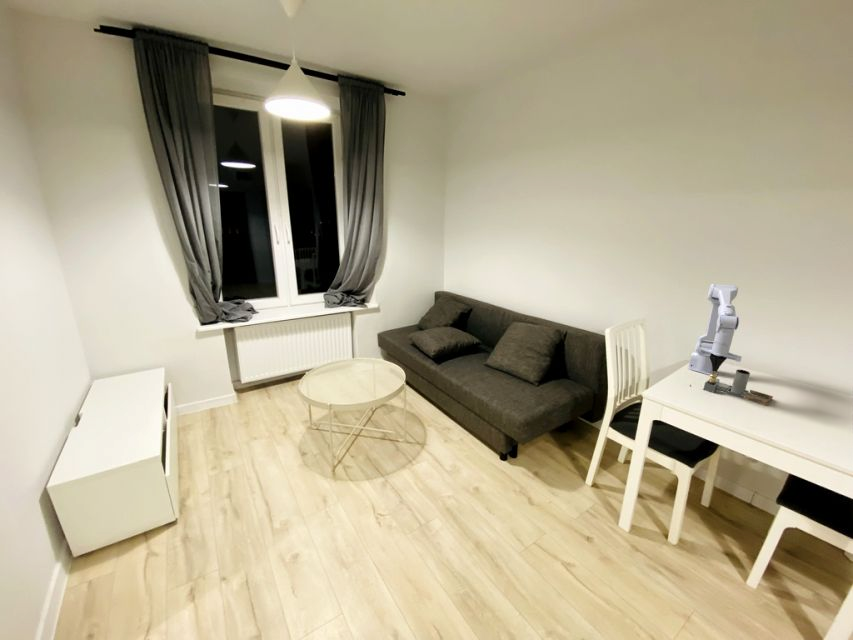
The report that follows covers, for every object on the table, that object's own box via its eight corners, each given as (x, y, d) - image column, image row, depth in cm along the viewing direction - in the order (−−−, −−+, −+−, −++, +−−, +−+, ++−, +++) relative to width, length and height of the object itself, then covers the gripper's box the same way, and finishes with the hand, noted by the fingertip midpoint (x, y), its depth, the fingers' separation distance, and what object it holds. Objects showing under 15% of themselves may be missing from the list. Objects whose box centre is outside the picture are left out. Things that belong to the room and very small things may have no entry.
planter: (744, 392, 156) (750, 371, 153) (743, 396, 153) (749, 374, 150) (730, 389, 159) (736, 368, 156) (730, 392, 156) (736, 371, 153)
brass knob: (706, 383, 158) (708, 374, 157) (708, 382, 160) (711, 372, 158) (714, 386, 156) (716, 376, 155) (716, 384, 158) (718, 375, 156)
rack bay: (744, 398, 151) (745, 395, 151) (749, 392, 156) (750, 389, 156) (767, 405, 146) (768, 402, 145) (771, 399, 151) (773, 396, 150)
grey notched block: (707, 385, 163) (709, 379, 162) (710, 383, 165) (712, 377, 165) (726, 391, 158) (728, 385, 157) (729, 388, 160) (730, 382, 159)
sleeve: (704, 386, 162) (705, 384, 162) (710, 381, 167) (711, 379, 167) (743, 398, 152) (743, 396, 152) (748, 392, 156) (748, 391, 156)
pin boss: (703, 389, 159) (705, 382, 158) (706, 386, 162) (708, 379, 161) (713, 393, 156) (715, 386, 155) (717, 389, 159) (718, 383, 158)
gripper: (698, 339, 155) (692, 367, 159) (741, 349, 144) (732, 379, 148) (704, 336, 159) (697, 363, 163) (746, 345, 148) (737, 375, 152)
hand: (714, 371), depth 156 cm, fingers closed
